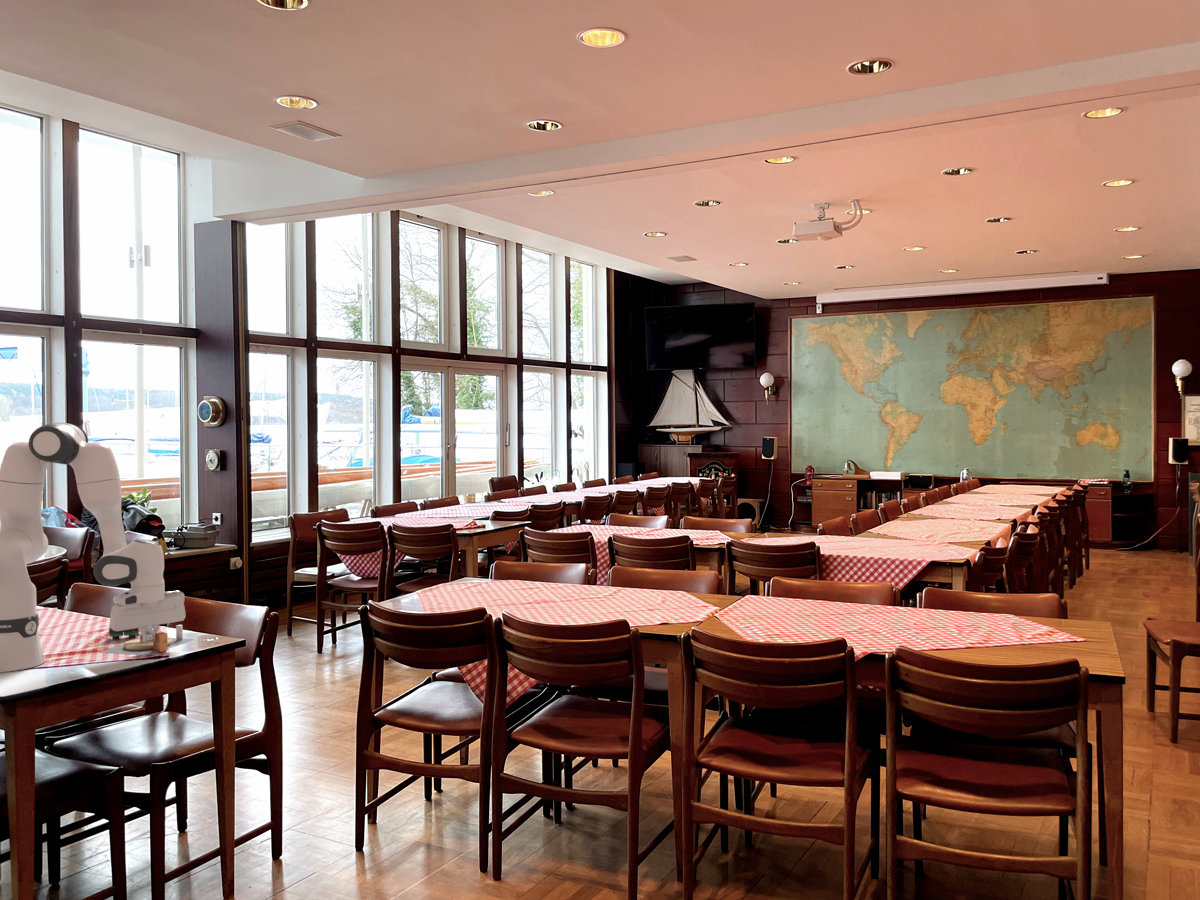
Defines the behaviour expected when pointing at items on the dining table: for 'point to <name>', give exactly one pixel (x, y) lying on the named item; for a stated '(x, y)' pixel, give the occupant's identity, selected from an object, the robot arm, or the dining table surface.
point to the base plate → (175, 642)
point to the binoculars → (130, 632)
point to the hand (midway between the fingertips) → (149, 640)
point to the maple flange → (150, 643)
